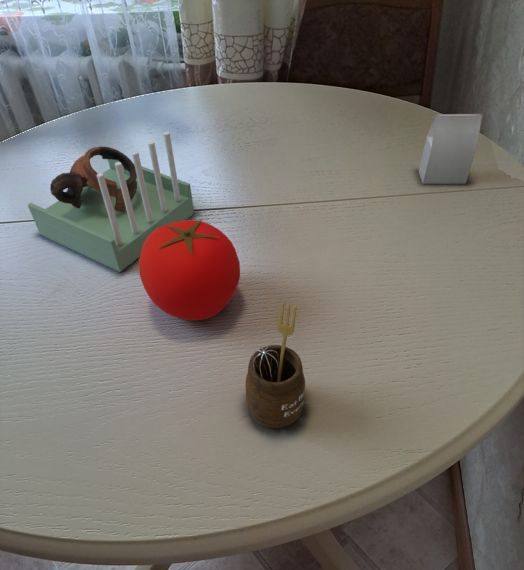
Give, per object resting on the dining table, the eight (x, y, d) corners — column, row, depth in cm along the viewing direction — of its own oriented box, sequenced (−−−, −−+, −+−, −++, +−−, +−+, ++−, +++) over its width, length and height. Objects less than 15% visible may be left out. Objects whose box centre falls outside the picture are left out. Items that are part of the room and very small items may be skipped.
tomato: (259, 311, 62) (257, 241, 54) (174, 350, 58) (157, 281, 50) (213, 259, 68) (205, 191, 60) (134, 291, 64) (114, 222, 56)
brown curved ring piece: (103, 177, 78) (117, 135, 72) (139, 223, 77) (156, 184, 71) (31, 192, 70) (40, 146, 64) (70, 243, 69) (83, 202, 63)
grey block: (465, 183, 79) (485, 120, 72) (422, 183, 80) (438, 121, 72) (460, 171, 82) (479, 109, 74) (418, 171, 82) (433, 109, 74)
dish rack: (40, 234, 73) (3, 149, 63) (117, 183, 81) (95, 101, 72) (120, 272, 67) (93, 184, 57) (194, 213, 75) (182, 128, 66)
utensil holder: (237, 419, 51) (229, 342, 42) (262, 374, 55) (259, 294, 46) (291, 439, 50) (294, 363, 41) (312, 391, 53) (320, 312, 44)
